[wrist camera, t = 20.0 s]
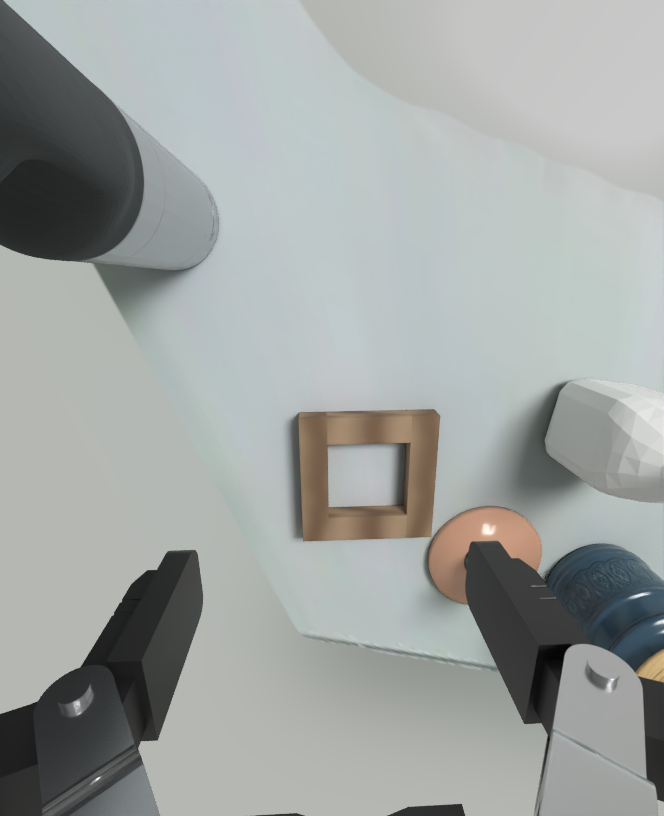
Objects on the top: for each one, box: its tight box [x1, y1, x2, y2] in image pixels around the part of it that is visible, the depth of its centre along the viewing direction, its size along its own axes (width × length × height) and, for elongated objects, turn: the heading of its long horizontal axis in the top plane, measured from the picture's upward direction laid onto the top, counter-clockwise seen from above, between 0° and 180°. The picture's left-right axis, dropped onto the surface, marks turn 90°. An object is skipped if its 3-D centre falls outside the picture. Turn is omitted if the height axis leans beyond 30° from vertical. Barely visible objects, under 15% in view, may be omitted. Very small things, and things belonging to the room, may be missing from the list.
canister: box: [547, 544, 664, 682], centre depth 44 cm, size 13×13×18 cm
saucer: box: [428, 506, 542, 605], centre depth 50 cm, size 14×14×1 cm
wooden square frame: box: [298, 409, 440, 541], centre depth 45 cm, size 15×15×2 cm
